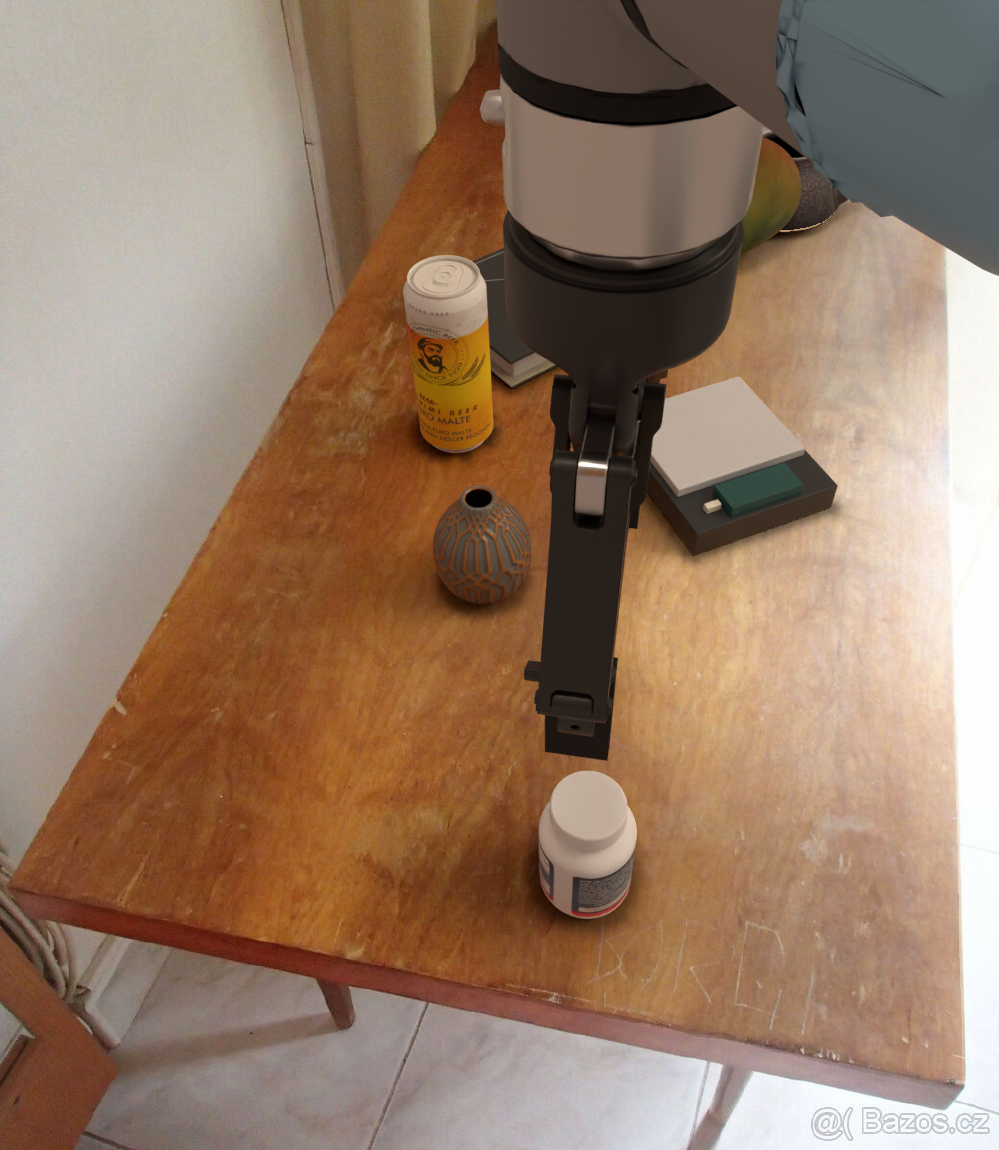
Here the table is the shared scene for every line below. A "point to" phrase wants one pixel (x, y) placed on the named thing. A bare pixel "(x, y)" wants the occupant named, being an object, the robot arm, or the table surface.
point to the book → (506, 330)
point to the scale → (730, 467)
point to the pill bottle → (586, 845)
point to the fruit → (771, 195)
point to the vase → (482, 547)
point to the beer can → (450, 351)
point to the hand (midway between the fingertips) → (596, 625)
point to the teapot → (809, 190)
